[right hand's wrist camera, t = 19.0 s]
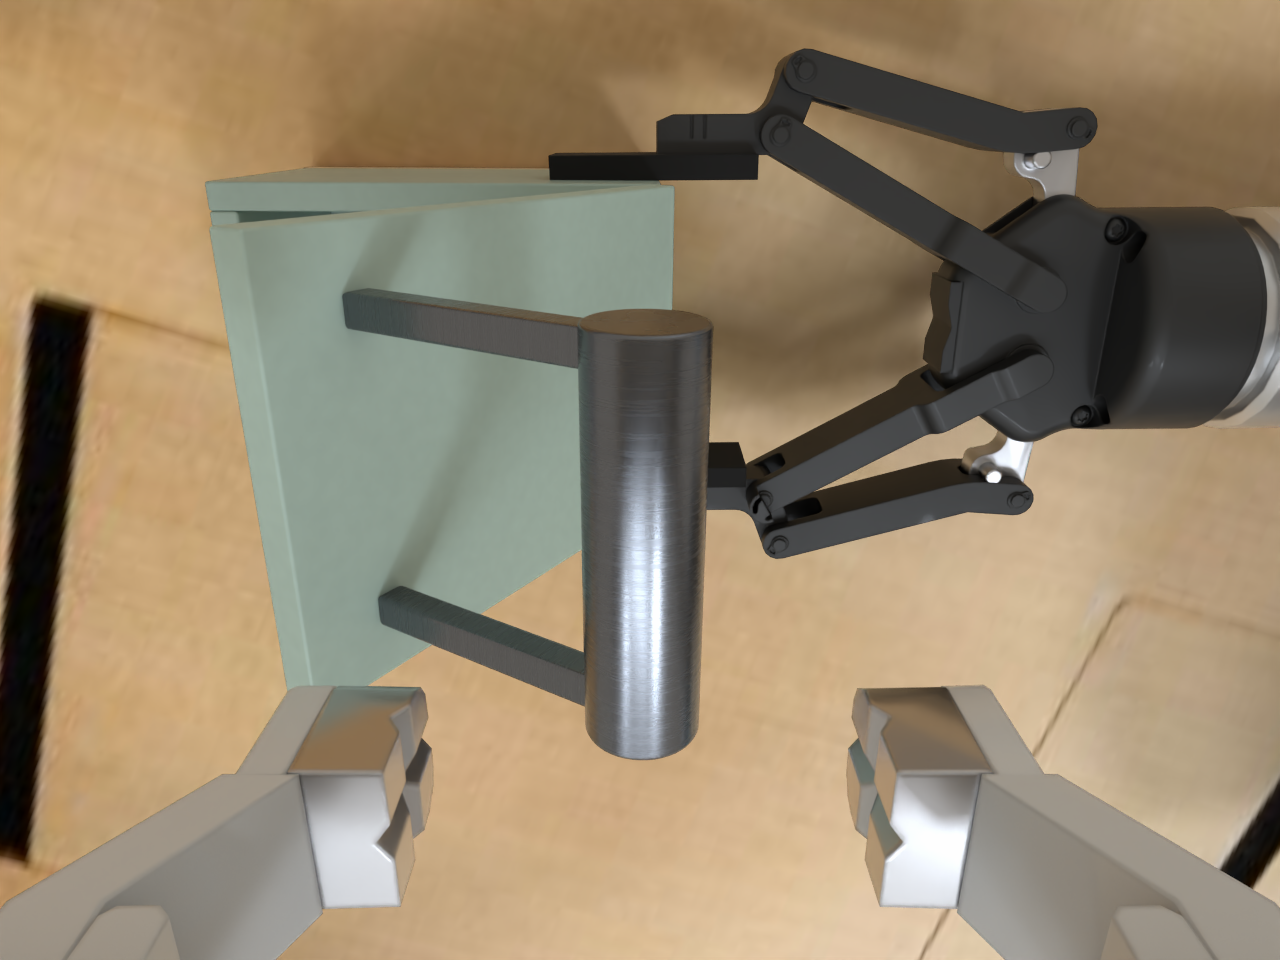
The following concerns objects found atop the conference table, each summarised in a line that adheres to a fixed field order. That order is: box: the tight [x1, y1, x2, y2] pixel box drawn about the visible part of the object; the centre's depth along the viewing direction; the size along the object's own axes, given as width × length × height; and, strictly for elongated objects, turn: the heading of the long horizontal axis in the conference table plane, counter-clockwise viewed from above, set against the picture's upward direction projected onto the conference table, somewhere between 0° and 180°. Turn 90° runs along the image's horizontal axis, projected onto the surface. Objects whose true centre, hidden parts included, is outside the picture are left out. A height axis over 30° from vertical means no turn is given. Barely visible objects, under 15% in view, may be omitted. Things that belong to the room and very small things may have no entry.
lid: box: [210, 185, 713, 760], centre depth 20 cm, size 14×10×8 cm
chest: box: [205, 167, 661, 226], centre depth 32 cm, size 14×10×10 cm
